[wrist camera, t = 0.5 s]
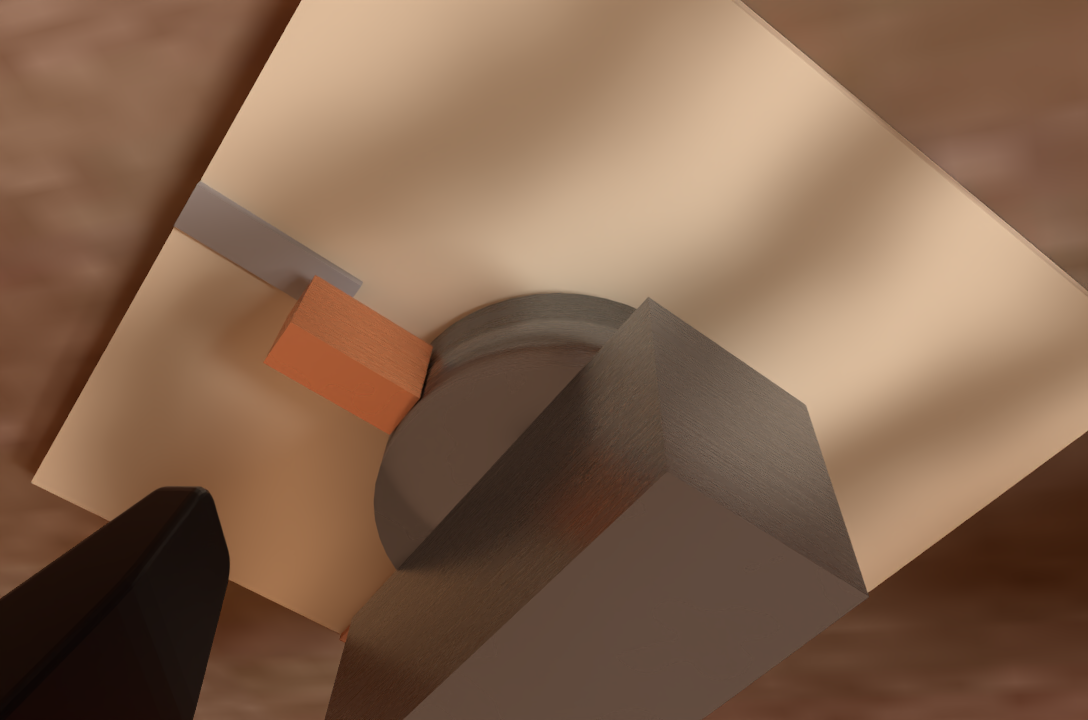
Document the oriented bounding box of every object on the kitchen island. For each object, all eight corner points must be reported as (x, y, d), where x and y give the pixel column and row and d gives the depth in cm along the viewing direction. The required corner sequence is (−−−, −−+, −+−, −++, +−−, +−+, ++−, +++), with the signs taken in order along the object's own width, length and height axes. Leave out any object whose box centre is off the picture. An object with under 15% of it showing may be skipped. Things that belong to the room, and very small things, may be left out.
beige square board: (1146, 340, 23) (1177, 373, 21) (622, 740, 32) (623, 778, 31) (447, -245, 17) (437, -244, 16) (52, 454, 26) (27, 487, 25)
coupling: (843, 371, 22) (958, 652, 15) (557, 627, 27) (547, 923, 20) (441, 85, 18) (357, 279, 12) (203, 438, 23) (48, 715, 17)
